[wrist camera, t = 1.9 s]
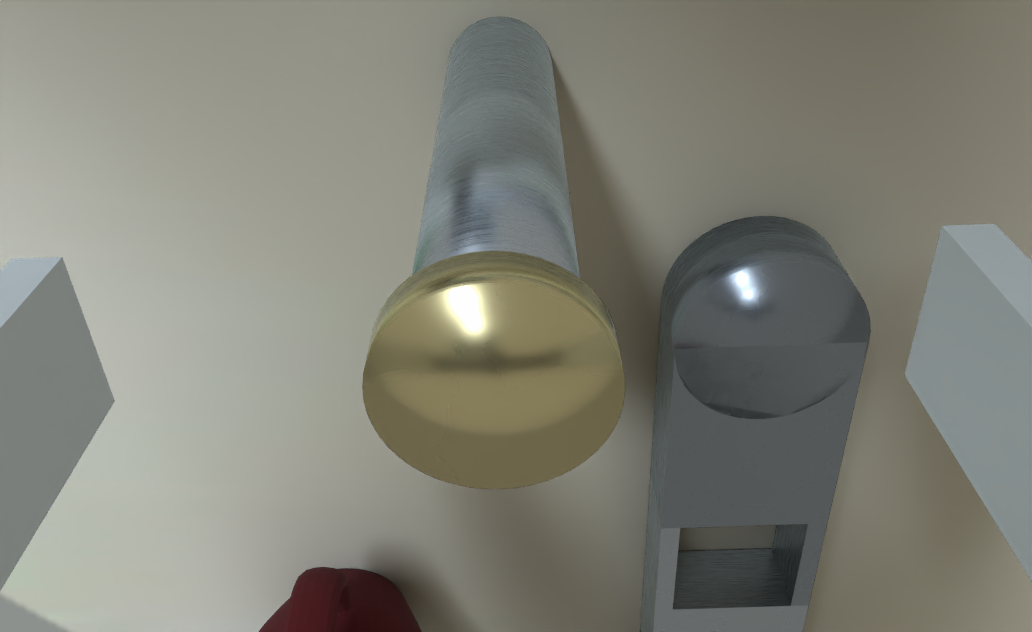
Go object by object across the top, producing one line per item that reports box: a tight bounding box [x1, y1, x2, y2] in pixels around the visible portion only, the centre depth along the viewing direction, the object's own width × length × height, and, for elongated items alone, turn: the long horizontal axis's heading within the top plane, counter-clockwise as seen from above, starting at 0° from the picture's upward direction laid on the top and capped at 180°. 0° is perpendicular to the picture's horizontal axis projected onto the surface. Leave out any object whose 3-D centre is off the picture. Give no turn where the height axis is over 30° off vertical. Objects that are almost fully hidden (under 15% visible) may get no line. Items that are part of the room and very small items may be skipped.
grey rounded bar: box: [640, 216, 870, 632], centre depth 30 cm, size 23×5×2 cm, turn 2°
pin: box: [362, 17, 625, 489], centre depth 17 cm, size 3×3×13 cm
